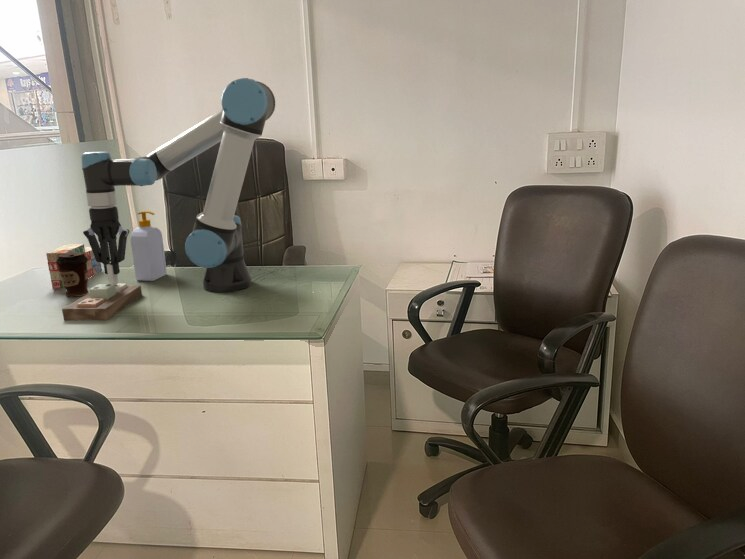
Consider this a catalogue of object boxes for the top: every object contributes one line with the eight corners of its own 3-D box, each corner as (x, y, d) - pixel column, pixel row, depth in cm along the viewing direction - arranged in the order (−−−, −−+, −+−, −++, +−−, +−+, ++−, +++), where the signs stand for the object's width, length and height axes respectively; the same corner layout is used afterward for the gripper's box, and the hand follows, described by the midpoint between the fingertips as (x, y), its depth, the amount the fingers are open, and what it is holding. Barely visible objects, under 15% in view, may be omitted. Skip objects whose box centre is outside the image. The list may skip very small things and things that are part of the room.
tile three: (105, 308, 157) (104, 297, 157) (96, 314, 153) (94, 303, 152) (88, 308, 158) (86, 297, 157) (78, 314, 153) (76, 303, 152)
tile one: (128, 292, 171) (126, 282, 170) (120, 297, 166) (119, 287, 165) (112, 292, 171) (110, 282, 170) (104, 297, 166) (102, 287, 165)
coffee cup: (79, 299, 169) (72, 257, 166) (55, 298, 171) (48, 257, 167) (98, 291, 177) (92, 251, 174) (75, 289, 179) (68, 250, 176)
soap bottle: (154, 281, 187) (145, 213, 181) (135, 280, 188) (126, 213, 182) (169, 274, 195) (161, 209, 189) (151, 273, 197) (143, 209, 190)
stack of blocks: (85, 271, 201) (79, 238, 198) (102, 271, 201) (97, 238, 198) (52, 289, 181) (45, 252, 177) (71, 289, 181) (64, 252, 177)
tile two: (116, 294, 164) (114, 283, 163) (108, 299, 159) (106, 288, 158) (99, 294, 164) (98, 283, 163) (90, 299, 159) (89, 288, 158)
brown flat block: (142, 295, 172) (140, 285, 172) (107, 319, 151) (105, 308, 150) (104, 295, 173) (102, 285, 172) (63, 319, 152) (61, 308, 151)
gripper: (130, 204, 164) (140, 281, 171) (87, 204, 165) (99, 281, 171) (118, 208, 157) (129, 288, 164) (73, 208, 158) (86, 288, 164)
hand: (114, 284), depth 168 cm, fingers closed
